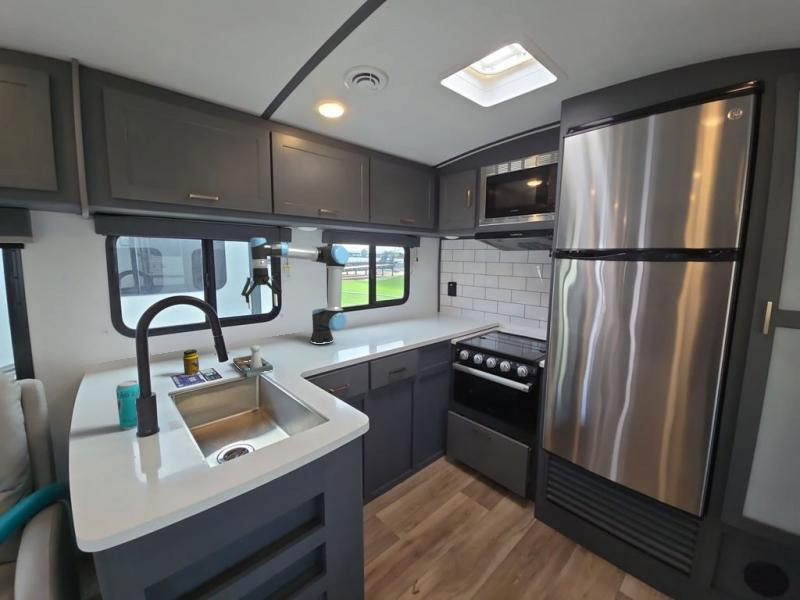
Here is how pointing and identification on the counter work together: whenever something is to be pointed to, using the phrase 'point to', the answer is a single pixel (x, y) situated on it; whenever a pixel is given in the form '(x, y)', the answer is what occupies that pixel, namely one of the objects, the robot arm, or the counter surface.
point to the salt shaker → (255, 357)
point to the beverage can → (127, 403)
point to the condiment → (190, 362)
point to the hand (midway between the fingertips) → (263, 307)
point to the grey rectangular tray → (246, 365)
